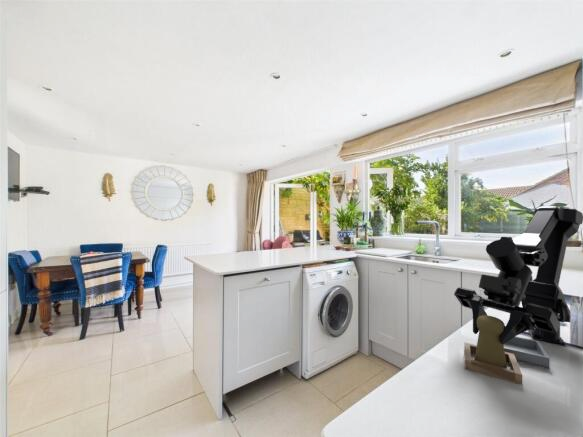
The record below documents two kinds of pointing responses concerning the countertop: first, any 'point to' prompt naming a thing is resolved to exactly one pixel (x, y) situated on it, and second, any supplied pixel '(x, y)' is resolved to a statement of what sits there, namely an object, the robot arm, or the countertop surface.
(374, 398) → the countertop surface
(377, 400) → the countertop surface
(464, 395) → the countertop surface
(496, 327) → the olive flared post
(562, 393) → the countertop surface
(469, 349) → the walnut collar
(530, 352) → the grey square tray
